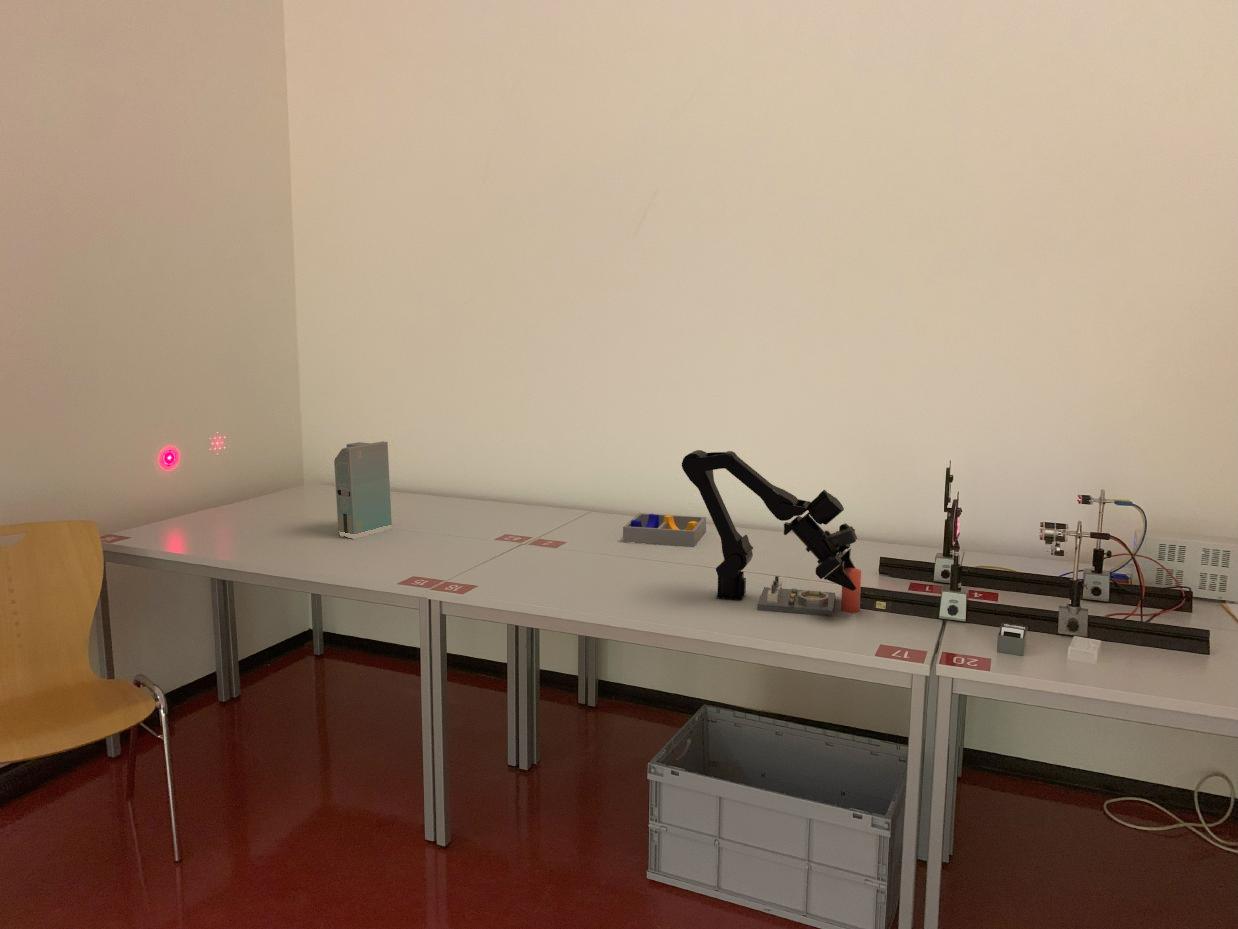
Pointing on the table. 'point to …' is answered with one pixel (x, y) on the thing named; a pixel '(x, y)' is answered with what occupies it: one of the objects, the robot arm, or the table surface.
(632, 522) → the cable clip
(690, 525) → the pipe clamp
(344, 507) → the device
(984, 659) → the table surface
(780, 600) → the grey fixture base plate
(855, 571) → the cap
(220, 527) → the table surface
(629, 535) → the parts tray
